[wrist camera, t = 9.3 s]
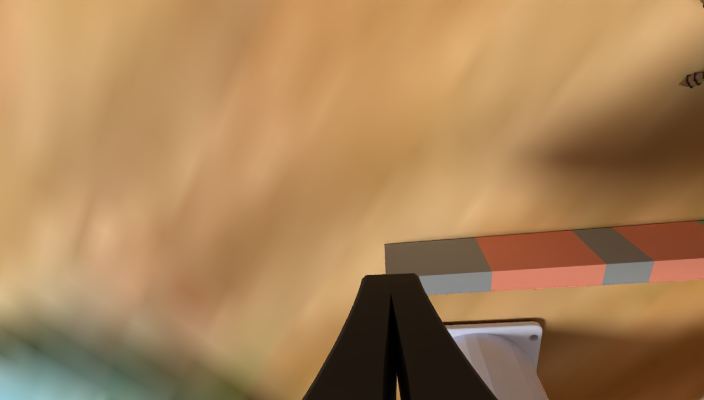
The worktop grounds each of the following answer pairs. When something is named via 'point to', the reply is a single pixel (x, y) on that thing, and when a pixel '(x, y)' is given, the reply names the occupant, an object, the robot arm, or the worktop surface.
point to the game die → (693, 76)
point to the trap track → (554, 258)
